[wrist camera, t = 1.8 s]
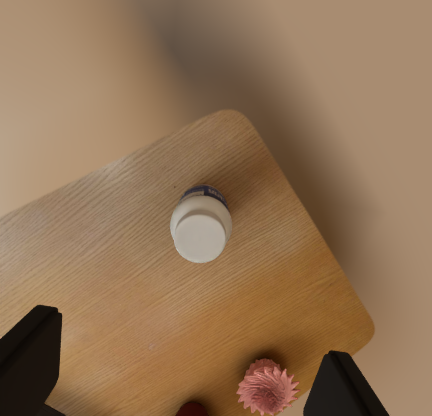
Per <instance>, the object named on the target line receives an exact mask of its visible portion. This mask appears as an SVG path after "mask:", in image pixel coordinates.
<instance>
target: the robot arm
mask: <svg viewBox="0 0 432 416" xmlns="http://www.w3.org/2000/svg"><path fill="white" fill-rule="evenodd" d="M61 329H62V313H58V309H57V308H56V307H51V306H44V305H37V306H36V307H34V308H33V309H32V310H31V311H30V312H29V313H28V314H27V315H26V316H25V317H24V318H22V319H21V320H20V321H19V322H18V323H17V324H16V325H15V326H14V327H13V328H12V329H11V330H10V331H9V332H7V333H6V334H5V335H4V336H3V337H2V338H1V339H0V416H36V415H37V414H38V412H39V410H40V409H41V407H42V406H43V404H44V403H45V401H46V399H47V398H48V396H49V395H50V393H51V392H52V390H53V388H54V387H55V385H56V383H57V380H58V377H59V366H60V348H61ZM303 415H304V416H389V414H388V413H387V411H386V410H385V408H384V407H383V405H382V403H381V402H380V400H379V399H378V397H377V396H376V394H375V393H374V391H373V390H372V388H371V387H370V385H369V384H368V382H367V380H366V379H365V377H364V376H363V374H362V373H361V371H360V370H359V368H358V367H357V365H356V364H355V362H354V361H353V359H352V357H351V356H350V355H349V354H348V353H346V352H339V351H333V350H331V351H329V353H328V354H325V355H324V357H323V360H322V362H321V365H320V367H319V370H318V373H317V375H316V378H315V380H314V383H313V386H312V388H311V391H310V393H309V396H308V399H307V401H306V404H305V407H304V411H303Z"/></svg>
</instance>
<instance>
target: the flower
mask: <svg viewBox="0 0 432 416" xmlns="http://www.w3.org/2000/svg"><path fill="white" fill-rule="evenodd" d="M279 365H280V364H276V363H274V362H273V361H272V359H271V360H269V359H267V360H266V358H265V359H262V360H261V359H260V360H256V362H255V363H253V364H251V365H250V368H249V370H246V375H245V376H244V379H243V381H242V382H241V383H239V384H238V385H239V386H240V388H239V389H238V391H237V394H241V396H240V398H239V401H238V402H242V401H244V409H246V408H247V407H249V406H250V407H251V412H252V413H254V412H255V410H256V409H258V410H259V412H260V414H261V415H262V416H263V414H264V412H266V413H269V414H272V415H273V413H275V412H276V413H277V412H278V411H281V412H283V410H282V409H283V406H290V407H291V406H292V405H291V404H289V403H288V402H289V401H291V400H293V399H296V400H297V399H298V398H296V397H294V396H293V395H294V394H295V393H296V392H298V391H300V390H298V389H293V388H294V387H295V386H296V385H297V384H298V383H300V382H299V381H297V382H292V381H291V380H292V378H293V376H294V375H295V374H293V375H287V374H286V368H285V370H283V371H282V369H281V368H280V366H279Z"/></svg>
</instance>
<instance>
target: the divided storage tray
mask: <svg viewBox="0 0 432 416" xmlns="http://www.w3.org/2000/svg"><path fill="white" fill-rule="evenodd" d="M36 416H65V415H63V414H61V413H60V412H58V411H56V410H54V409H52V408H50V407H48V406H47V405H45V404H43V406H42V407H41V409H40V410H39V412H38V414H37V415H36Z"/></svg>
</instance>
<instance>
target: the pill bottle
mask: <svg viewBox="0 0 432 416" xmlns="http://www.w3.org/2000/svg"><path fill="white" fill-rule="evenodd" d="M170 230H171V234H172V237H173V239H174V243H175V247H176V249H177V251H178V252H179V253H180V255H181V256H182V257H184V258H185V259H187V260H189V261H191V262H195V263H205V262H209V261H212V260H214V259H215V258H217V257H218V256H219V255H220V254H221V252H222V251H223V249H224V247H225V244H226V243H227V242H228V240H229V238H230V235H231V232H232V220H231V216H230V213H229V209H228V206H227V203H226V200H225V198H224V196H223V194H222V193H221V192H220V191H219V190H218V189H216V188H215V187H213V186H210V185H207V184H200V185H195V186H193V187H191V188H189V189H188V190H187V191H186V192H185V193H184V194H183V195H182V197H181V198H180V200H179V202H178V204H177V206H176V208H175V210H174V212H173V214H172V218H171V222H170Z"/></svg>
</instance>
